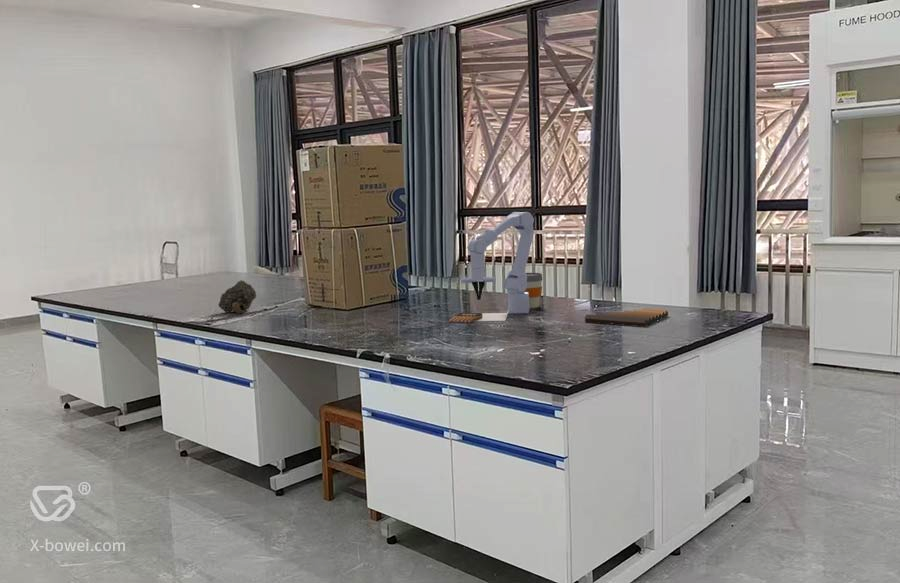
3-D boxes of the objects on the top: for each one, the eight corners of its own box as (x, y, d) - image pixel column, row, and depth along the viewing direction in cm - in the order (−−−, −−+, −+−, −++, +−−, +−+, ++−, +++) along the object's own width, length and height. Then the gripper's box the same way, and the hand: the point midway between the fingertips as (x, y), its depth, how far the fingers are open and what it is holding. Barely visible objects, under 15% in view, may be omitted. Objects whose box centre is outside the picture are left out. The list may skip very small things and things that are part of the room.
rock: (236, 275, 368) (244, 272, 355) (258, 294, 373) (267, 292, 360) (211, 303, 360) (220, 301, 348) (234, 322, 365) (243, 321, 353)
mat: (508, 313, 323) (508, 312, 323) (504, 321, 306) (504, 320, 306) (479, 314, 325) (479, 313, 325) (474, 321, 308) (474, 320, 308)
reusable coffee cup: (545, 308, 333) (544, 275, 331) (517, 309, 333) (516, 276, 331) (541, 303, 346) (540, 272, 344) (514, 305, 346) (513, 273, 344)
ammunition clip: (460, 317, 318) (447, 323, 308) (459, 312, 318) (446, 319, 307) (482, 317, 313) (470, 324, 303) (482, 313, 313) (469, 319, 302)
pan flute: (584, 323, 296) (644, 328, 281) (584, 315, 296) (644, 319, 281) (611, 313, 316) (668, 317, 301) (610, 305, 315) (668, 309, 301)
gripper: (494, 266, 317) (495, 297, 319) (460, 267, 317) (461, 298, 319) (495, 267, 310) (496, 299, 312) (460, 269, 310) (462, 301, 312)
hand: (478, 299), depth 315 cm, fingers closed
